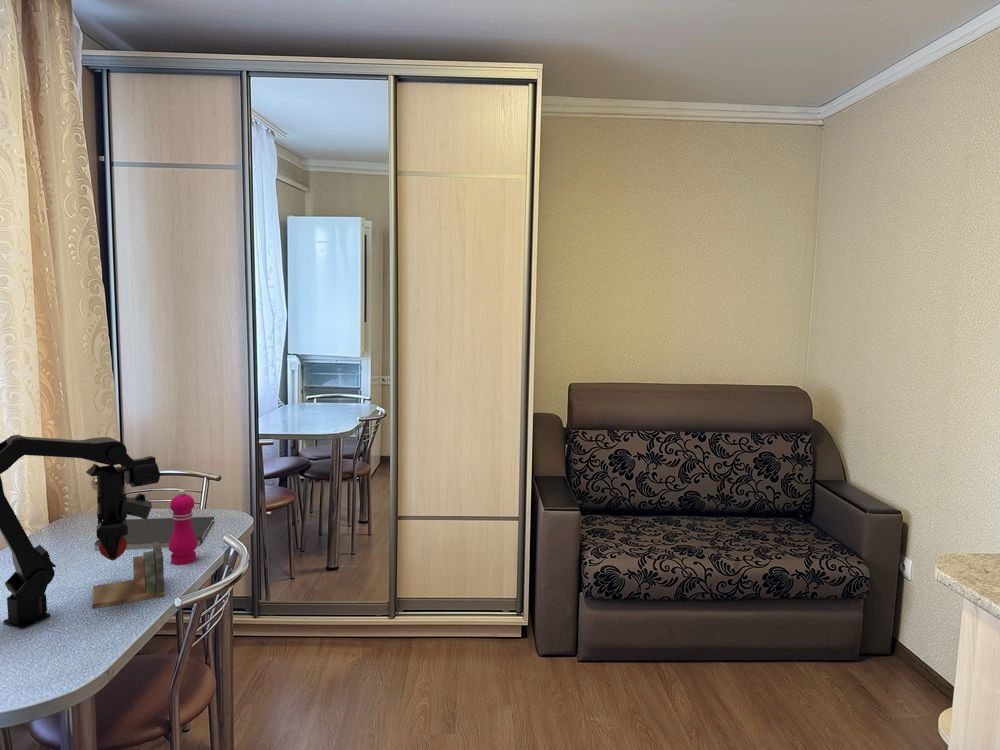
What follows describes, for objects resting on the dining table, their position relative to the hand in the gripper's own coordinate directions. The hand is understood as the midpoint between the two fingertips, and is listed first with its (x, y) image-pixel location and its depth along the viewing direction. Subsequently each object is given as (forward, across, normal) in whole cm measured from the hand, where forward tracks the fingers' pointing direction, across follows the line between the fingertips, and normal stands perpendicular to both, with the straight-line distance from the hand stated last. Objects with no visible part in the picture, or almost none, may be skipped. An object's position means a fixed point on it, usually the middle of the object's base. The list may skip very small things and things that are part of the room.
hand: (113, 553), depth 166 cm
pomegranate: (+2, 0, 0) cm, 2 cm away
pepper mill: (+11, +16, -17) cm, 26 cm away
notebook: (+11, +40, -12) cm, 43 cm away
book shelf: (+10, 0, -3) cm, 11 cm away
